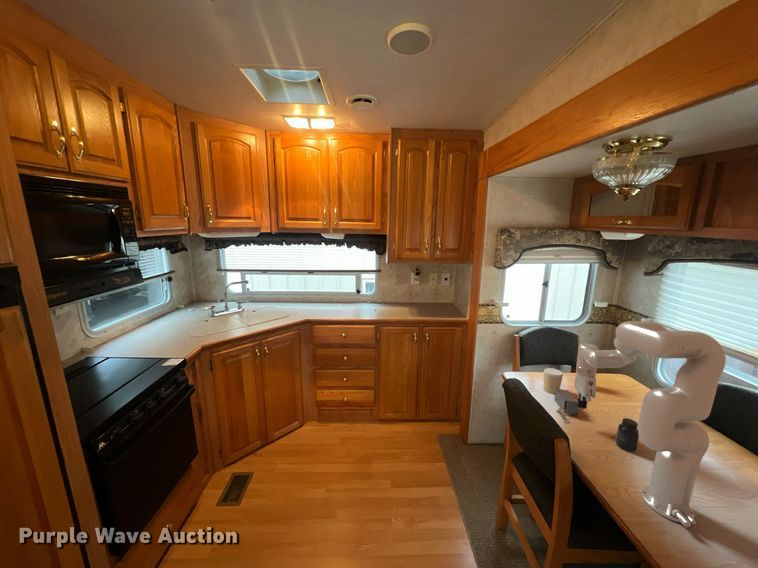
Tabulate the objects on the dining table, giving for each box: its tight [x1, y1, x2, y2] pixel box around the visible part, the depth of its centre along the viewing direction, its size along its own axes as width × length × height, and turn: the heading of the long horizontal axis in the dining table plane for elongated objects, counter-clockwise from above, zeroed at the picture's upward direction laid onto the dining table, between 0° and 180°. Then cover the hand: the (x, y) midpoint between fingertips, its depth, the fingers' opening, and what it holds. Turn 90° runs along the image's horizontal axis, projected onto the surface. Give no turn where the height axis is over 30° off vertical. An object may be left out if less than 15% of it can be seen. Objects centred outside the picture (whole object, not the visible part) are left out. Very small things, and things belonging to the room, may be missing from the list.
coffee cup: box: [543, 367, 564, 395], centre depth 164 cm, size 9×9×12 cm
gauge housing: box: [554, 389, 578, 424], centre depth 146 cm, size 20×9×6 cm, turn 169°
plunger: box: [557, 402, 580, 416], centre depth 148 cm, size 11×8×6 cm
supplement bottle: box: [615, 417, 640, 453], centre depth 121 cm, size 7×7×12 cm
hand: (581, 407), depth 134 cm, fingers closed
